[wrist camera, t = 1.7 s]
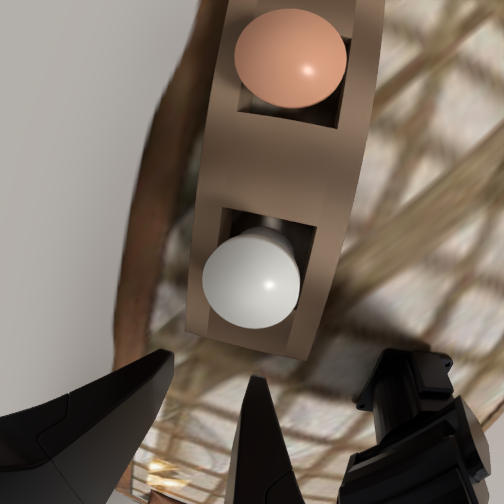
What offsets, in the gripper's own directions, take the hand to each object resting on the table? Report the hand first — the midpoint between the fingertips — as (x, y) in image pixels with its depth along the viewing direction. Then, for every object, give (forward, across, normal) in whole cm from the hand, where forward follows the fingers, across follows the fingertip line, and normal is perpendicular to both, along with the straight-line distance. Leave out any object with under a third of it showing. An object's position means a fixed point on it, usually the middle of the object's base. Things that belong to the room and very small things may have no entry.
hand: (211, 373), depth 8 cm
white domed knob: (+9, 0, 0) cm, 9 cm away
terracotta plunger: (+9, 0, -10) cm, 14 cm away
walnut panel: (+12, 0, -5) cm, 13 cm away
